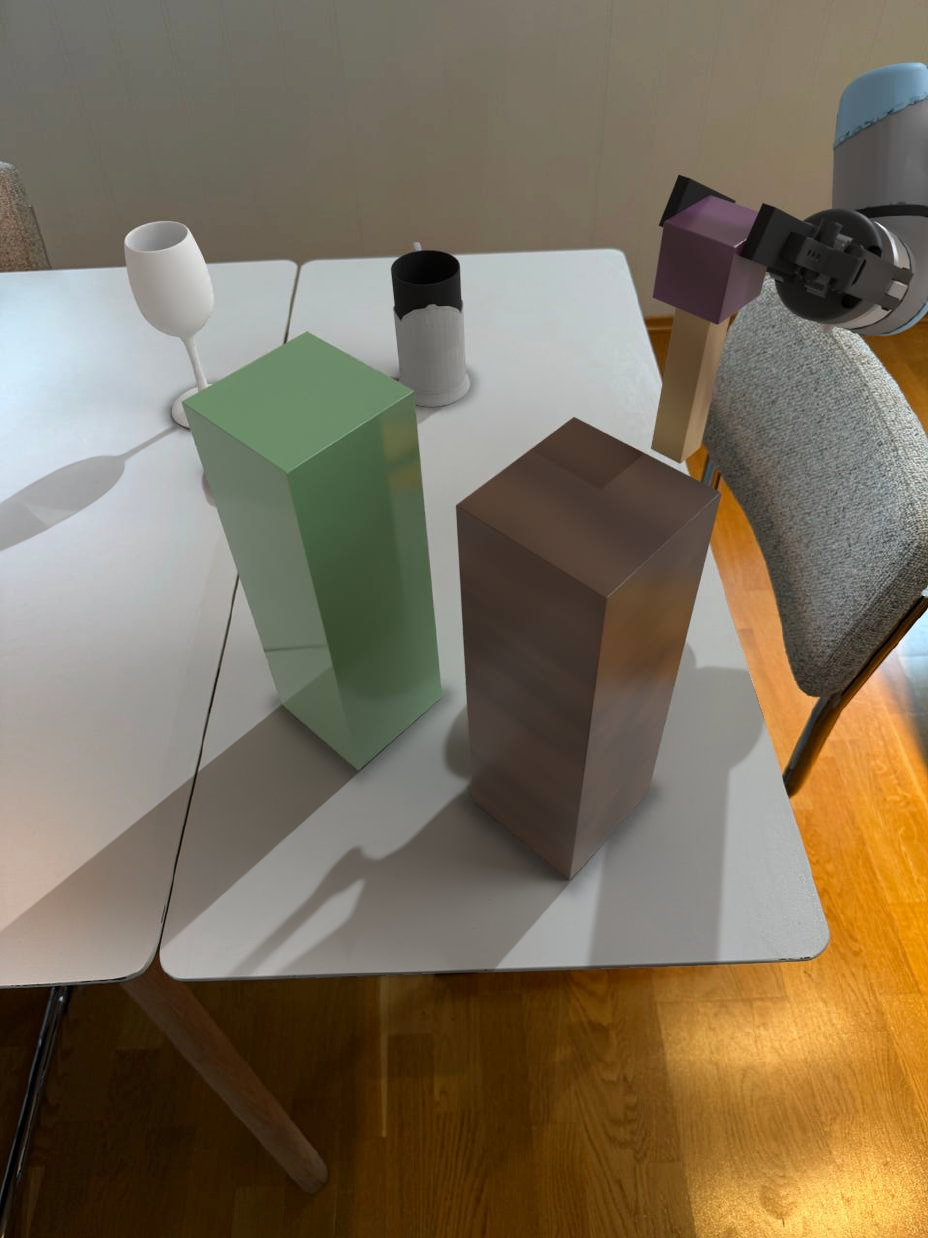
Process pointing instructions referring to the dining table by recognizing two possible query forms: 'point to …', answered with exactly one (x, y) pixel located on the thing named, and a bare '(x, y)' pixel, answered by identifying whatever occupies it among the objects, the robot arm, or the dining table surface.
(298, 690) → the green stand
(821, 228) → the robot arm
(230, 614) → the dining table surface
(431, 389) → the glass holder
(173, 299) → the wineglass
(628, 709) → the stand
